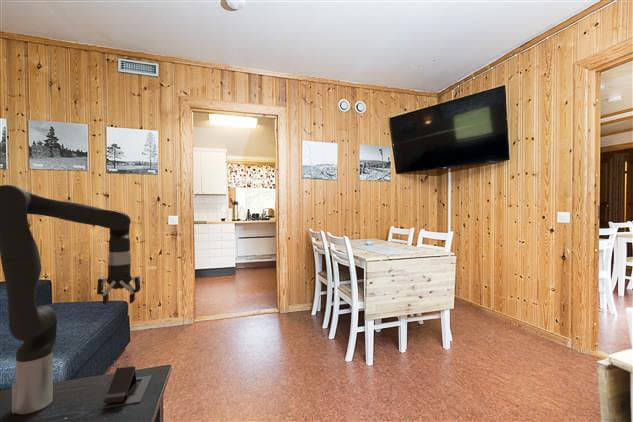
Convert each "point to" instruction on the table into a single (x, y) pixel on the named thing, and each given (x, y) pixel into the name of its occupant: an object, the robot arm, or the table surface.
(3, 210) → the robot arm
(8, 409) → the table surface
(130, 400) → the bracket
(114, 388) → the phone stand
